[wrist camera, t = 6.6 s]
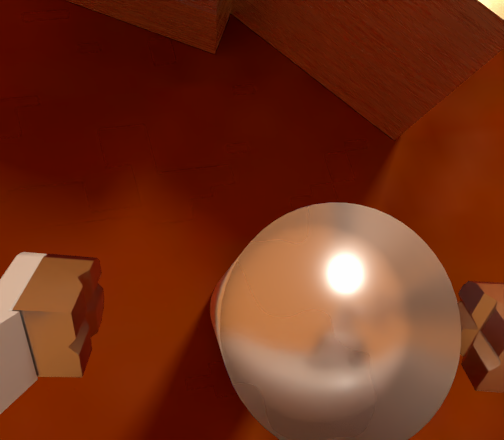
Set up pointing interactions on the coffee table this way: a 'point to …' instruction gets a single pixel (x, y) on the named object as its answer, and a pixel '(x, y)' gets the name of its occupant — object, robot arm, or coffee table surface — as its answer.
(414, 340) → the rounded cylinder
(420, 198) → the coffee table surface
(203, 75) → the coffee table surface
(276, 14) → the cream winged socket block
